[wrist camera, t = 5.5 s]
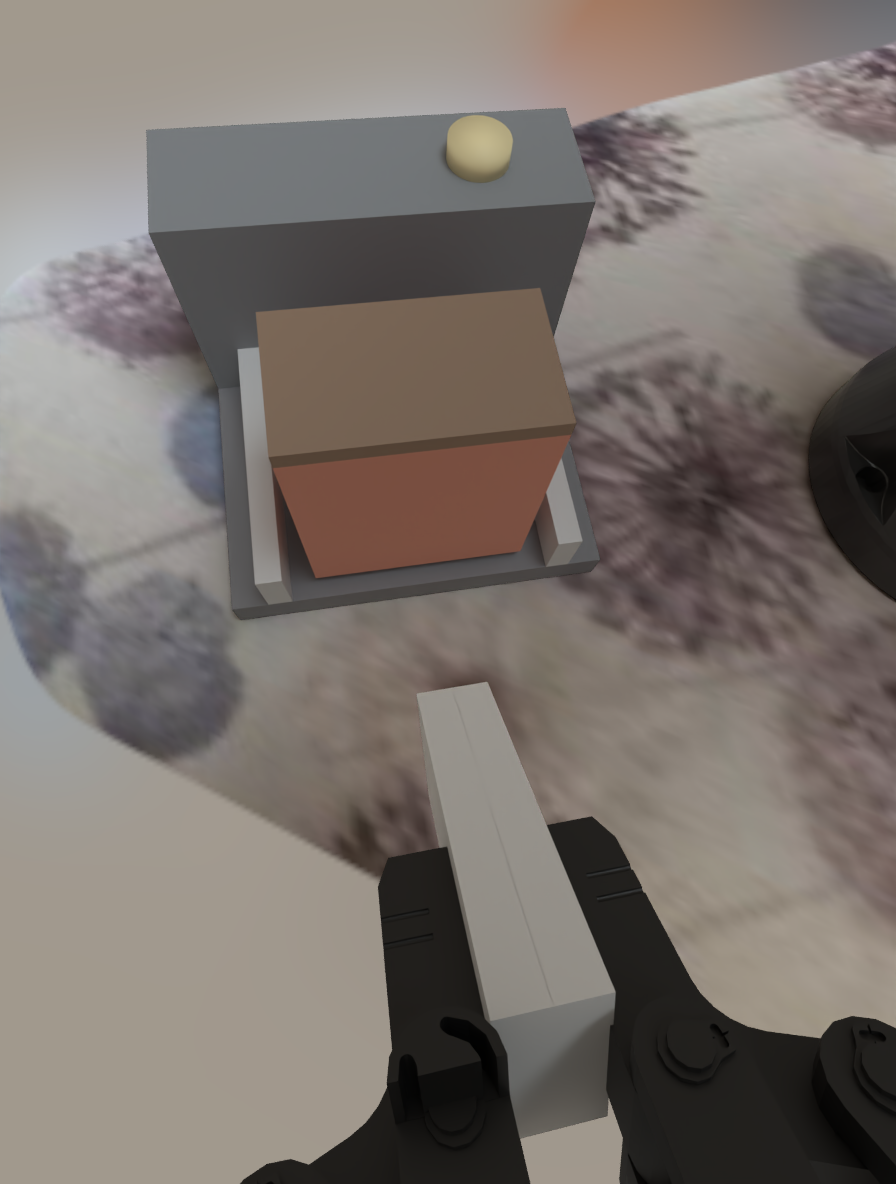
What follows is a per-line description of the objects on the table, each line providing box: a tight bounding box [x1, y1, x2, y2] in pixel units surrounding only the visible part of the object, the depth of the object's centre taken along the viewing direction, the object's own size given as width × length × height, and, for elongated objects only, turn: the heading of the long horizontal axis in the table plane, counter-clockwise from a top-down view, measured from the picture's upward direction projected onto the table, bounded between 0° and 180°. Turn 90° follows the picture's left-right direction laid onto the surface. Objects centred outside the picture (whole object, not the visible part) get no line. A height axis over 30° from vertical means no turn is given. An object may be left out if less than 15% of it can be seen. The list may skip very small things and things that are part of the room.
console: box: [146, 108, 600, 620], centre depth 26 cm, size 16×16×11 cm
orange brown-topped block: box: [256, 288, 576, 578], centre depth 23 cm, size 5×9×10 cm, turn 99°
